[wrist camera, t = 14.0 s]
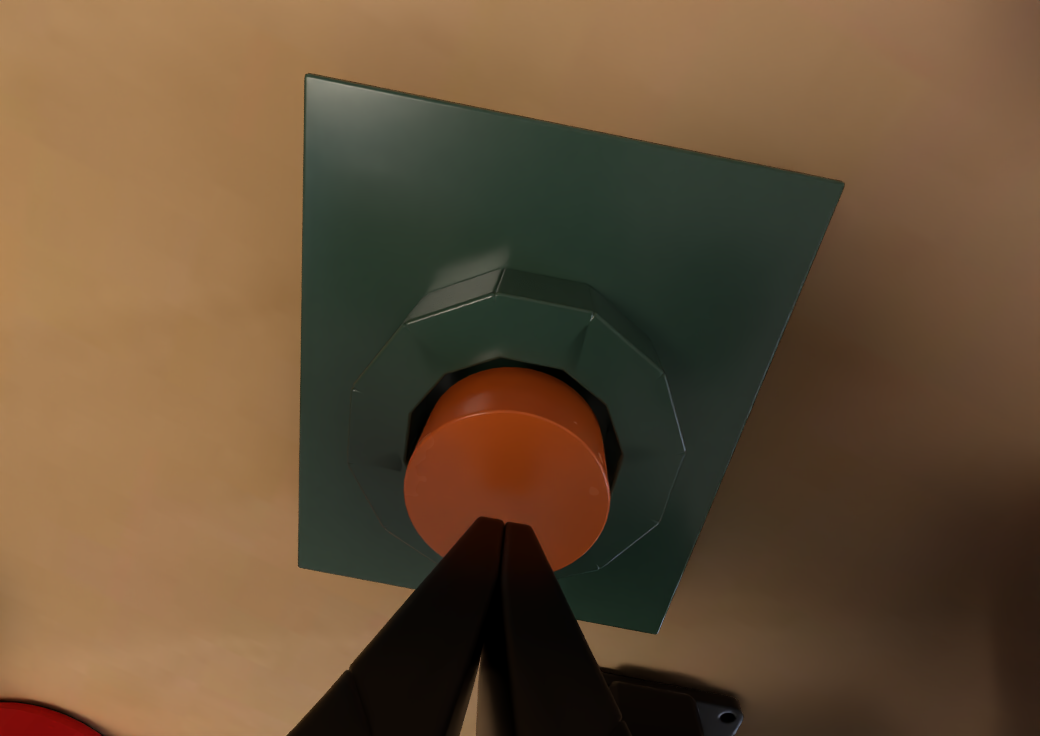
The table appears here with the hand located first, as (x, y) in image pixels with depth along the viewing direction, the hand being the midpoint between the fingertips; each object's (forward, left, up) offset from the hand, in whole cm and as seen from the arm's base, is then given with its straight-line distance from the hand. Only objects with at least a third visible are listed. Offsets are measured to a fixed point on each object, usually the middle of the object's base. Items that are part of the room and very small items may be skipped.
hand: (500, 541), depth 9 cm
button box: (0, 0, -6) cm, 6 cm away
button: (0, 0, -3) cm, 3 cm away
